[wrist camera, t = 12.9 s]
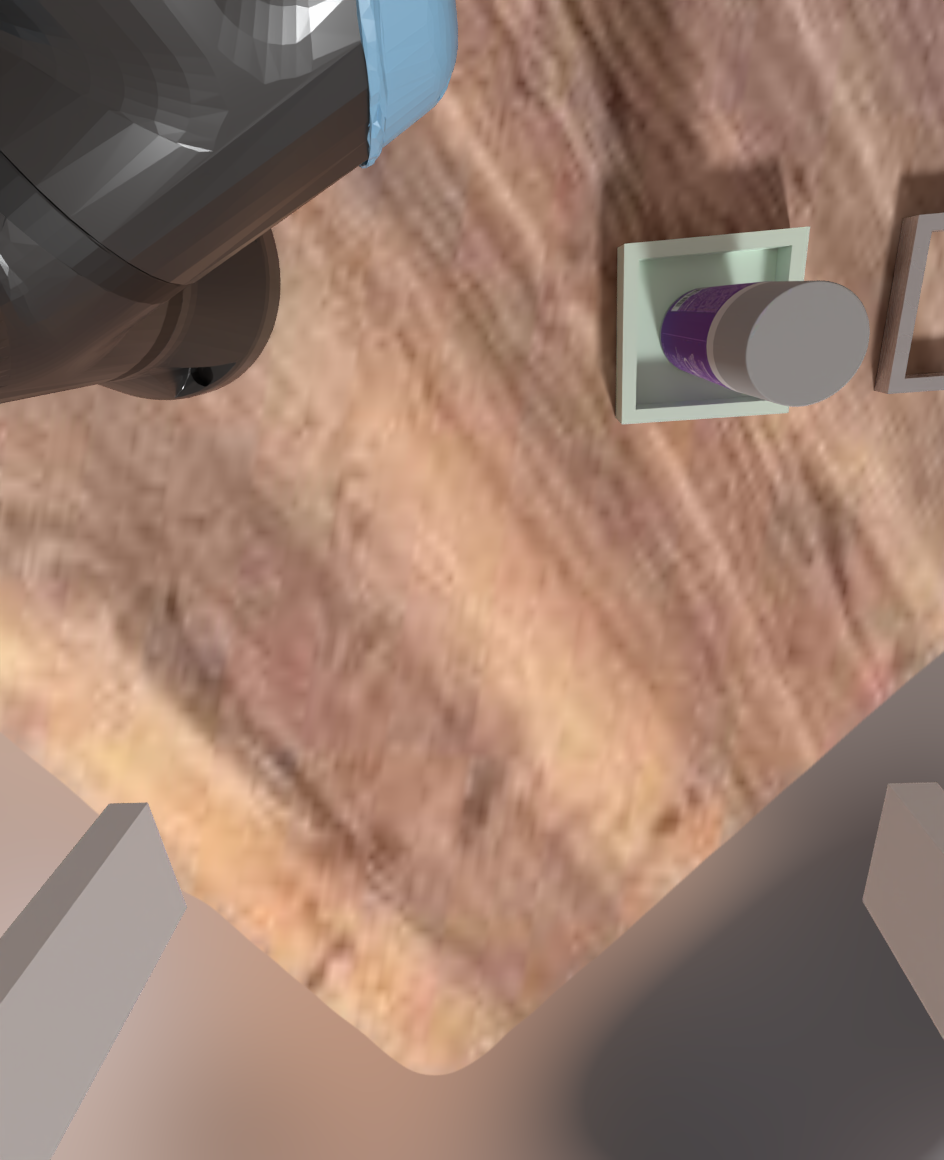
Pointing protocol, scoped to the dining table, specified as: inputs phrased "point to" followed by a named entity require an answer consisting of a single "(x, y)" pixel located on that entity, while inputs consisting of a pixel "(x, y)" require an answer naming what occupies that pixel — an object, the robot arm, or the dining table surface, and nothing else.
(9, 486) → the dining table surface
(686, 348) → the container
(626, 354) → the tray
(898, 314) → the collar
